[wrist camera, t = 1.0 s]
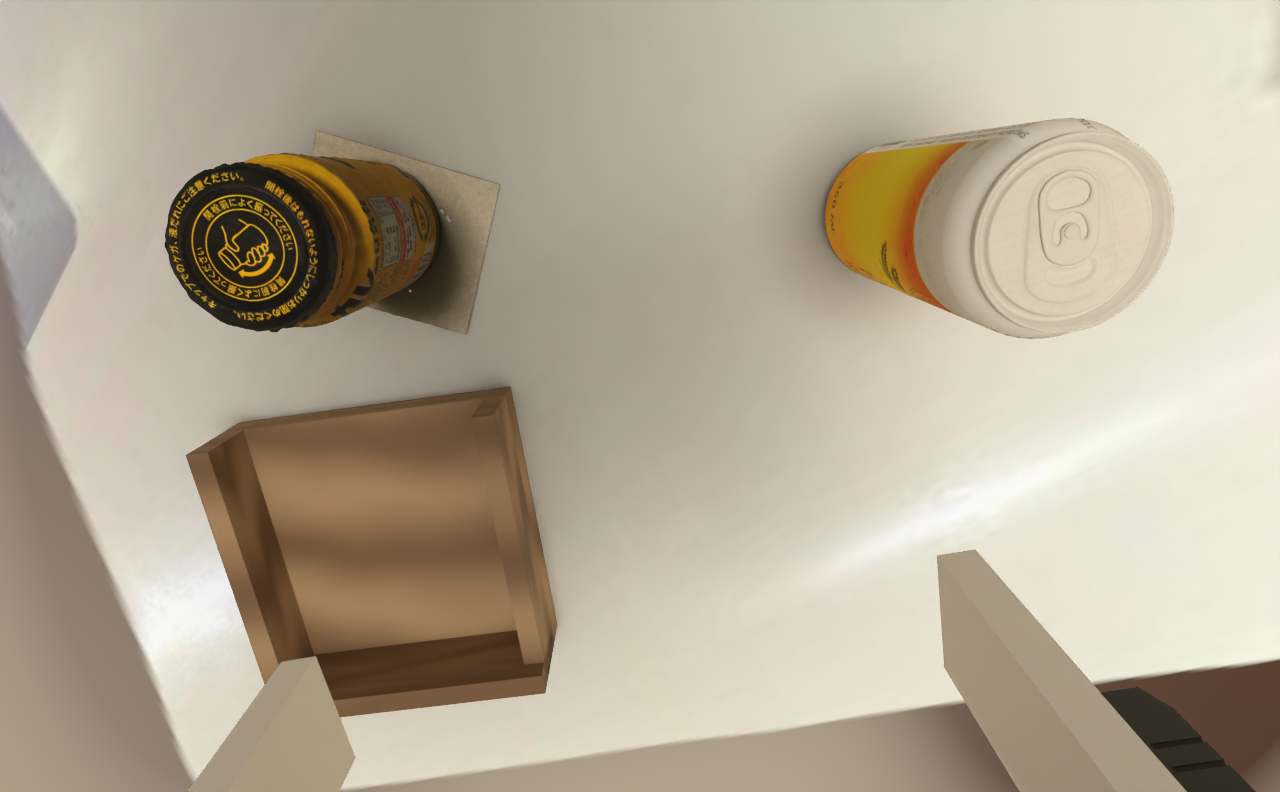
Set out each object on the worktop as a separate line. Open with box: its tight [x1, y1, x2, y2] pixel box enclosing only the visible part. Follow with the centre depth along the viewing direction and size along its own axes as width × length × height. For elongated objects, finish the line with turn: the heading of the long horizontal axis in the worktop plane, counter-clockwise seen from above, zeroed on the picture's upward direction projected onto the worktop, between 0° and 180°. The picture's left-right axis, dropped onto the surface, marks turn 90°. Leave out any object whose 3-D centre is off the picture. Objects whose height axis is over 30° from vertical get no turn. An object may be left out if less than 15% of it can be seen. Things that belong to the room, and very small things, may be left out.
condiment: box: [165, 131, 500, 334], centre depth 28 cm, size 7×8×12 cm
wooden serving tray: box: [186, 387, 557, 717], centre depth 35 cm, size 14×14×6 cm
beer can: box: [825, 118, 1174, 339], centre depth 26 cm, size 6×6×15 cm
